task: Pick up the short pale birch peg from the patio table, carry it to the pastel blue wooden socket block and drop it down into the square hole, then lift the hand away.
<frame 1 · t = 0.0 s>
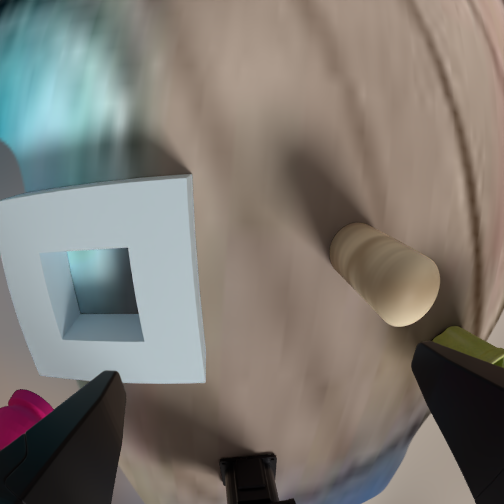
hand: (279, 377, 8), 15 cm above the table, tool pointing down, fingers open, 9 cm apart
plant pot: (442, 347, 29), on the table
birch peg: (355, 250, 23), on the table
pepper mill: (36, 407, 25), on the table
socket block: (107, 275, 22), on the table
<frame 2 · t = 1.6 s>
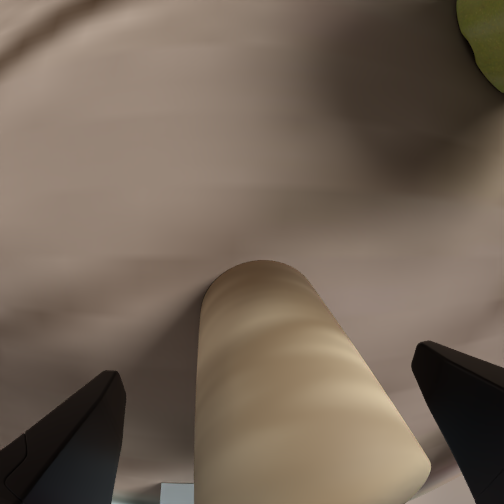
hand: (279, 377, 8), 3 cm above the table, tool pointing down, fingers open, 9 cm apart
plant pot: (491, 41, 9), on the table
birch peg: (260, 316, 11), on the table
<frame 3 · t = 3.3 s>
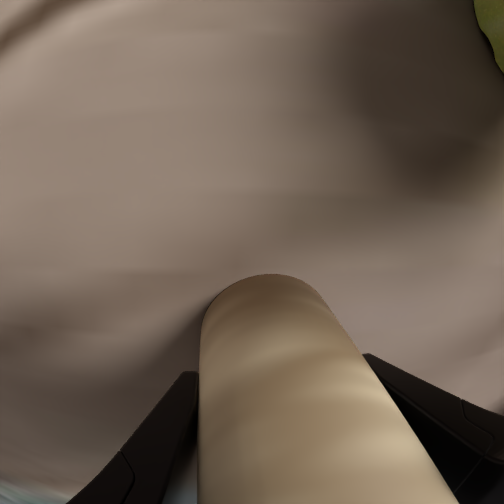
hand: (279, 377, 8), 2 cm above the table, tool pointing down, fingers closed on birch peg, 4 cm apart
birch peg: (266, 334, 10), on the table, touching gripper
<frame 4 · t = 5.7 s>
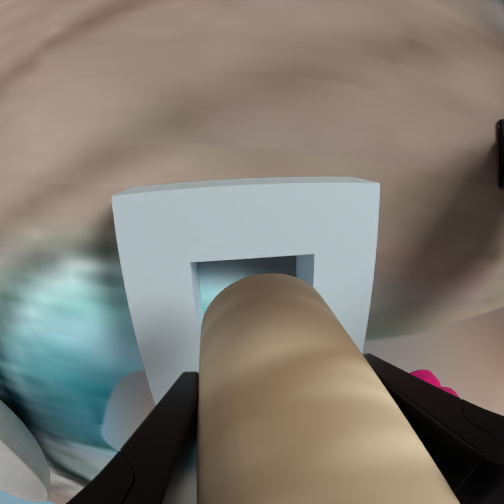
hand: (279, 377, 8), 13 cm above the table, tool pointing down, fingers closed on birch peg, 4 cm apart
birch peg: (266, 334, 10), point 10 cm above the table, touching gripper
pepper mill: (407, 391, 27), on the table
socket block: (248, 285, 21), on the table
when the fingers open (5 cm above the table, at t = 8.4 s): birch peg drops 3 cm, resting in socket block.
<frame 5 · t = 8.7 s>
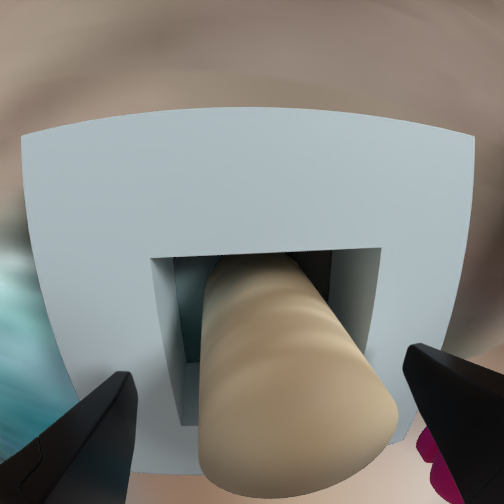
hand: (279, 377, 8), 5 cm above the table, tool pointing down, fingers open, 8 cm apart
birch peg: (256, 296, 13), resting in socket block
pepper mill: (444, 424, 19), on the table
socket block: (255, 297, 13), on the table
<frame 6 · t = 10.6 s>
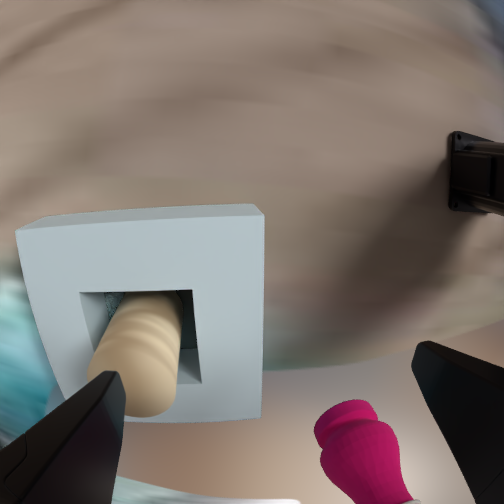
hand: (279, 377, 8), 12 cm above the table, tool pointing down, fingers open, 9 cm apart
birch peg: (152, 310, 20), resting in socket block
pepper mill: (342, 419, 27), on the table
socket block: (151, 310, 20), on the table
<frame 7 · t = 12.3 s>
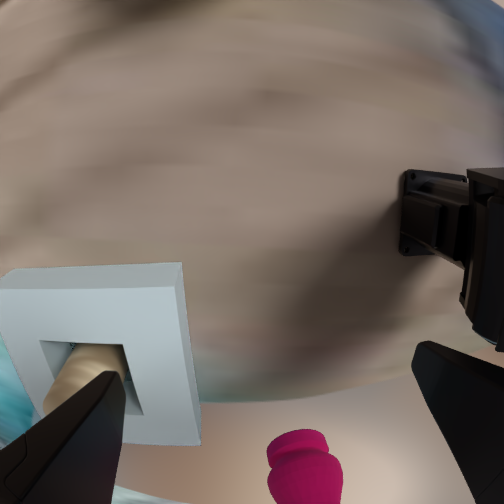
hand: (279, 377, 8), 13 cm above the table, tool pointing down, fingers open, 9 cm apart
birch peg: (106, 349, 22), resting in socket block
pepper mill: (295, 444, 28), on the table
socket block: (105, 349, 22), on the table
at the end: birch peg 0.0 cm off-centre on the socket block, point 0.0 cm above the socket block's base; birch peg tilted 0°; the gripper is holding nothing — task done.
